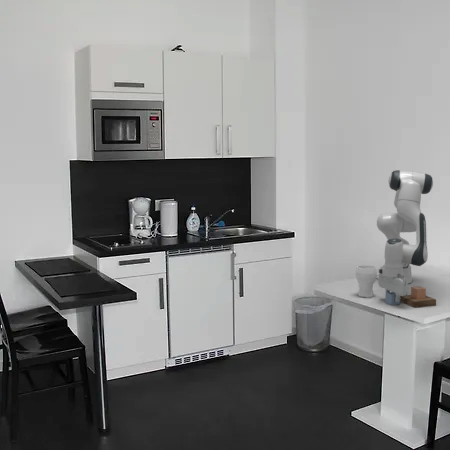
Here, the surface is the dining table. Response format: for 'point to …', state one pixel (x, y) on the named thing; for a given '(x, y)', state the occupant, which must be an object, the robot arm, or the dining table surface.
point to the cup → (366, 279)
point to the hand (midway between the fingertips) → (392, 300)
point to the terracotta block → (418, 292)
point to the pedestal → (418, 301)
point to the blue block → (391, 298)
